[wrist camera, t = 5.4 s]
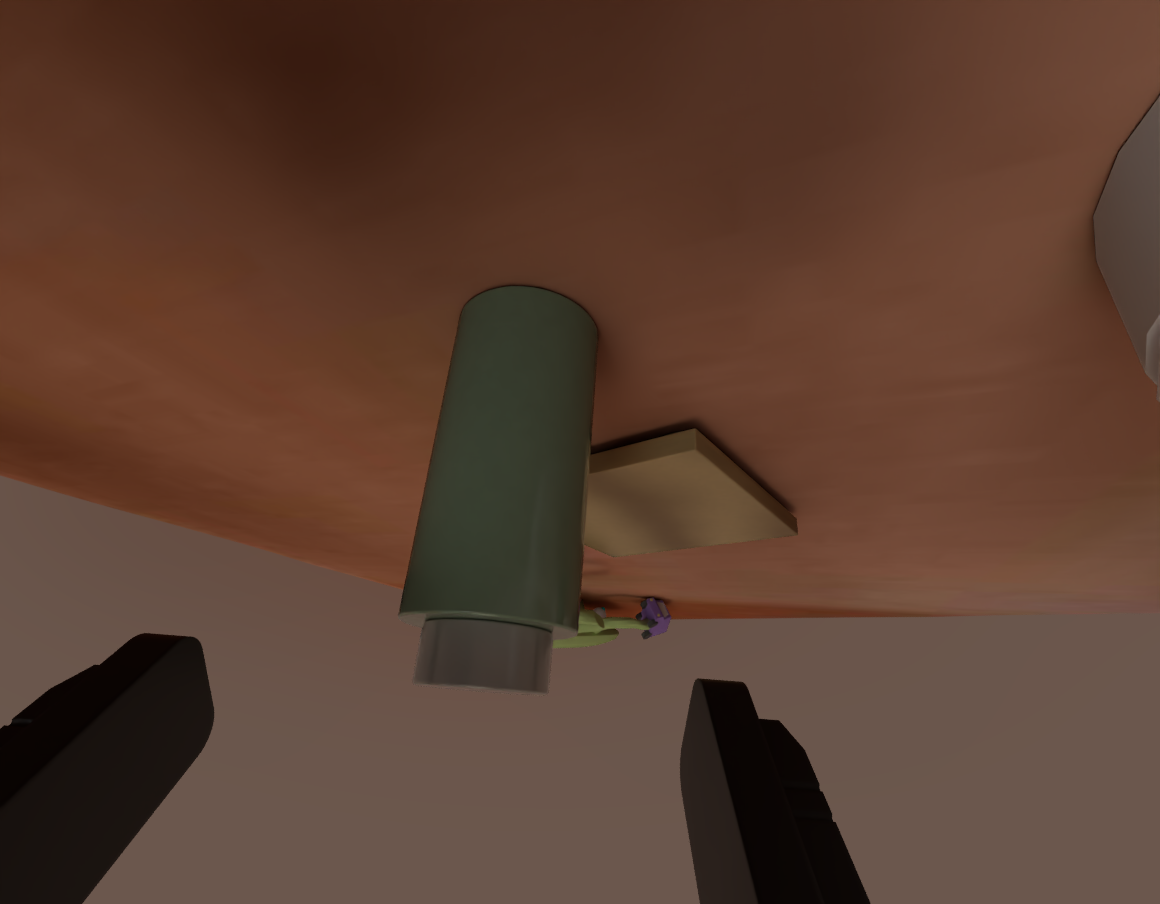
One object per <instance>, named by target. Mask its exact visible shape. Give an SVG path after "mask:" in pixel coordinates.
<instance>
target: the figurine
mask: <svg viewBox="0 0 1160 904" xmlns="http://www.w3.org/2000/svg"><path fill="white" fill-rule="evenodd" d="M640 605H641V607H642V612H641V613H639V614H637V615H636V618H637V619H633V618H630V617H606V612H605V608H604V607H601V608H600V607H597V608H595V609H594V610H585V608H584V603H583V599H582V600H581V602H580V615H579V629H578V634H577V636H575V637H573V638H569V639H563V640H553V648H575V647H587V646H594V645H599V644H602V643H606V642H609V641H611V640H614V639H616V637H617V636H618V634H619V632H618V631H617V630H616V629H615V628H636V629H640V630H644V631H645V632H643V633H642V637H643V639H647V638H649V637H652V636H655V635H658V634H661V633H664V632H666V631H667V628H668V625H669V622H670V619H671V616H670V614H669V612H668V610H667V608H666V606H665V604H664V602H663V601H662V600H655V599H654V597H653V598H649V599H647V600H645V601H643V602H642V603H641V604H640Z"/></svg>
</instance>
